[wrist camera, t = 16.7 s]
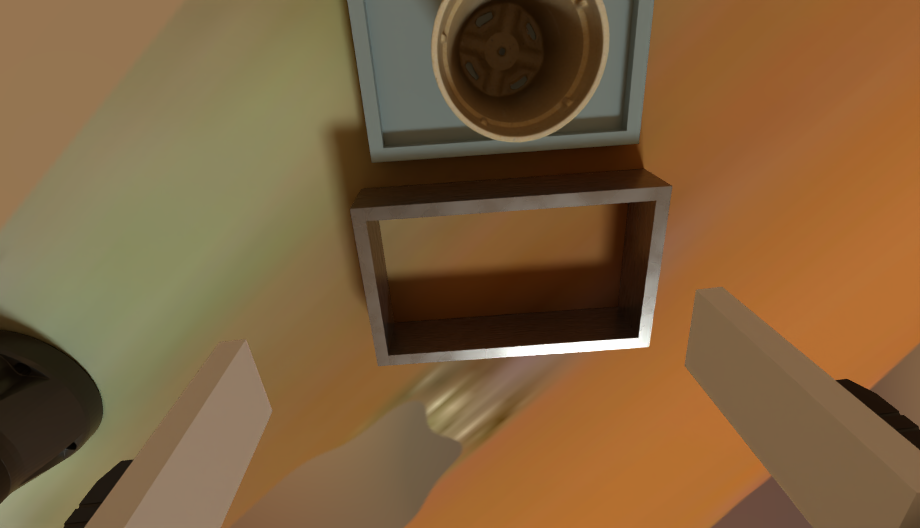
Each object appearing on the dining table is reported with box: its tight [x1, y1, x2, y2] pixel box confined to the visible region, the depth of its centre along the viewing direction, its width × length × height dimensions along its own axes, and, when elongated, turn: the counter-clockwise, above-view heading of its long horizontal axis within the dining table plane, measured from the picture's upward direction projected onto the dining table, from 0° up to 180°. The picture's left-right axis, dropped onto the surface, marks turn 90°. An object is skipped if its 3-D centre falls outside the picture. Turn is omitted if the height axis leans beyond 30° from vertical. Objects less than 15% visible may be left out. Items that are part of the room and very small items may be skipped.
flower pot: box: [431, 0, 610, 142], centre depth 28 cm, size 9×9×9 cm
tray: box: [347, 0, 654, 163], centre depth 31 cm, size 20×14×2 cm
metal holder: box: [350, 169, 672, 366], centre depth 37 cm, size 23×14×5 cm, turn 94°
